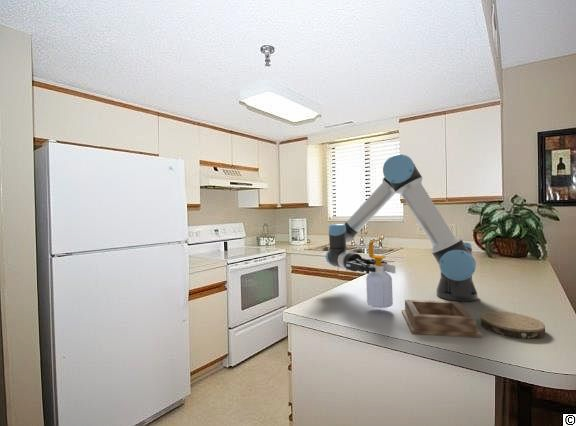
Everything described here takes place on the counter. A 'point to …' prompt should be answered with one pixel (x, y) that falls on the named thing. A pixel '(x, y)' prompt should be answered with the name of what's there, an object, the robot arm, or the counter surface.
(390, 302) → the soap bottle
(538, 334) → the wood slice
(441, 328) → the walnut caddy
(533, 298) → the counter surface
